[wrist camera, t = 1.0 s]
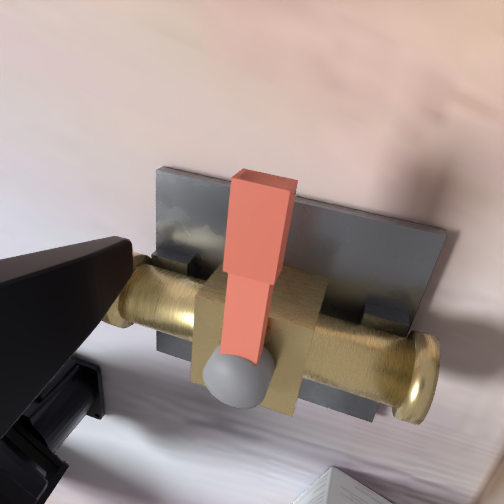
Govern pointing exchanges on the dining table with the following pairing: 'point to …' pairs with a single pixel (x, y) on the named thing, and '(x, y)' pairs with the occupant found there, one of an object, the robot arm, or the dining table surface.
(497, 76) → the dining table surface
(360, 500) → the skincare box
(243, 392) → the lever
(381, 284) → the valve body
